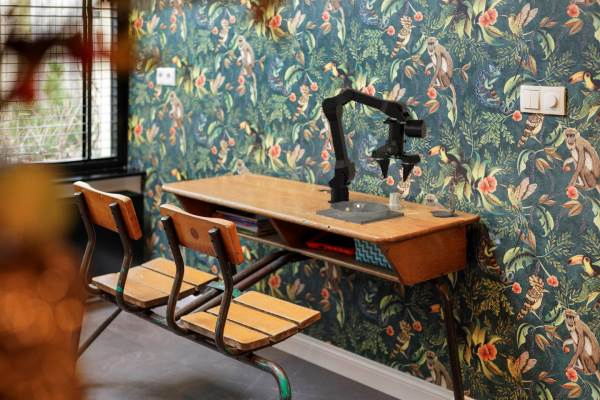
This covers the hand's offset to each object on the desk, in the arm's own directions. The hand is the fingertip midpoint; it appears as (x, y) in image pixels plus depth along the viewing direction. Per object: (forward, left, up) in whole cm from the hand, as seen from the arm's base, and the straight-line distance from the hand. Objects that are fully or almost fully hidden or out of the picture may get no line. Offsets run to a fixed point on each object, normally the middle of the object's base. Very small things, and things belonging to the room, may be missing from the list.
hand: (394, 180), depth 288 cm
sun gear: (0, -18, -10) cm, 21 cm away
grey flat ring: (0, -18, -10) cm, 21 cm away
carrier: (0, -18, -10) cm, 21 cm away
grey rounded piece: (+20, +4, -11) cm, 23 cm away
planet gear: (0, 0, -10) cm, 10 cm away
